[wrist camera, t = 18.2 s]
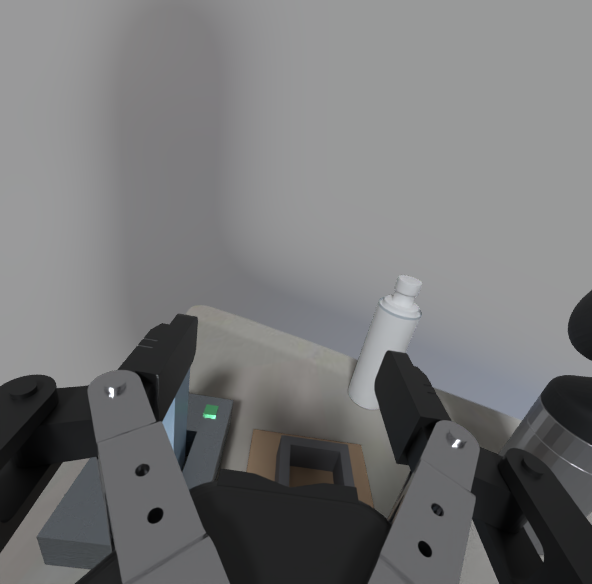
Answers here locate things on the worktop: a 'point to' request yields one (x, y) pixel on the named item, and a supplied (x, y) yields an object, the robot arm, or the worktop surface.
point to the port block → (89, 501)
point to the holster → (308, 462)
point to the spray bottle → (385, 338)
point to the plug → (178, 421)
